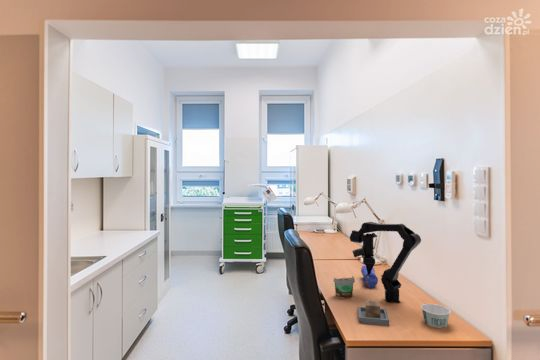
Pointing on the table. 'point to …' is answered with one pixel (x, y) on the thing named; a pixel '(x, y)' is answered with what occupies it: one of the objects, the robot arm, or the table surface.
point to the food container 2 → (435, 315)
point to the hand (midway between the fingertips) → (368, 272)
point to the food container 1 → (344, 287)
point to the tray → (369, 320)
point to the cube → (373, 309)
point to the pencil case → (369, 277)
